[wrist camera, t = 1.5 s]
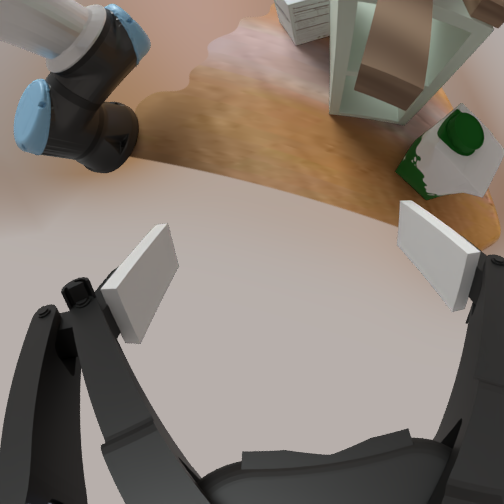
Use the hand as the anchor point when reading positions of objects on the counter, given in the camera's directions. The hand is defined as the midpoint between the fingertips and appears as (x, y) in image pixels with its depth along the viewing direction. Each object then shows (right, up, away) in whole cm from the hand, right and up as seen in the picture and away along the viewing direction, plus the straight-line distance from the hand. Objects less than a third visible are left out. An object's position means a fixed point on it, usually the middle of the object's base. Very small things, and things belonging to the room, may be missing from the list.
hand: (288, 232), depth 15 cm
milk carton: (+26, +12, +24) cm, 37 cm away
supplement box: (+8, +40, +24) cm, 48 cm away
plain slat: (+10, +20, -5) cm, 23 cm away
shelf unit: (+17, +27, +24) cm, 40 cm away
